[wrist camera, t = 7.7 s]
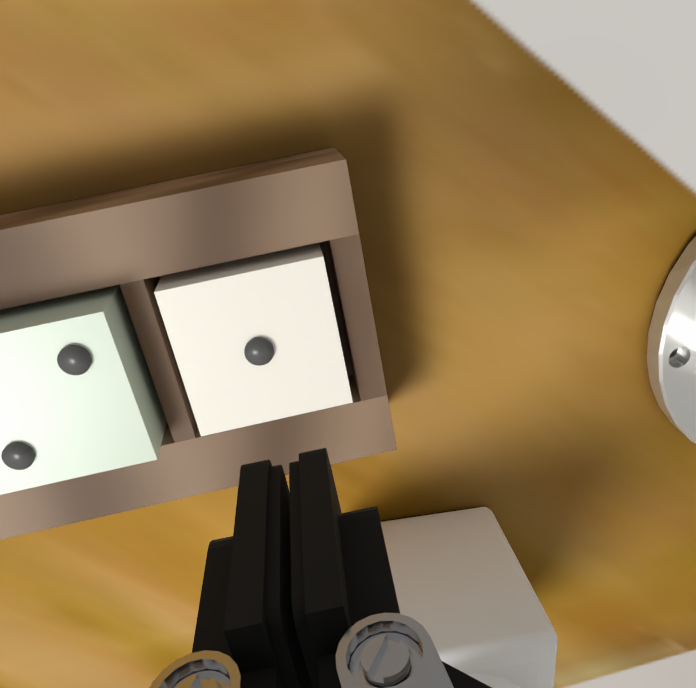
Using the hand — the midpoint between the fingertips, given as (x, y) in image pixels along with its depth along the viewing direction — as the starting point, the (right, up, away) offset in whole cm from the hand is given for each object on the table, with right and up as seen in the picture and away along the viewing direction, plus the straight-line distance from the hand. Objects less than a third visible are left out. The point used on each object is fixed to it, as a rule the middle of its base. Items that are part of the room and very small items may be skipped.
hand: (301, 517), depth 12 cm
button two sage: (-8, +2, +8) cm, 12 cm away
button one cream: (-2, +4, +9) cm, 10 cm away
